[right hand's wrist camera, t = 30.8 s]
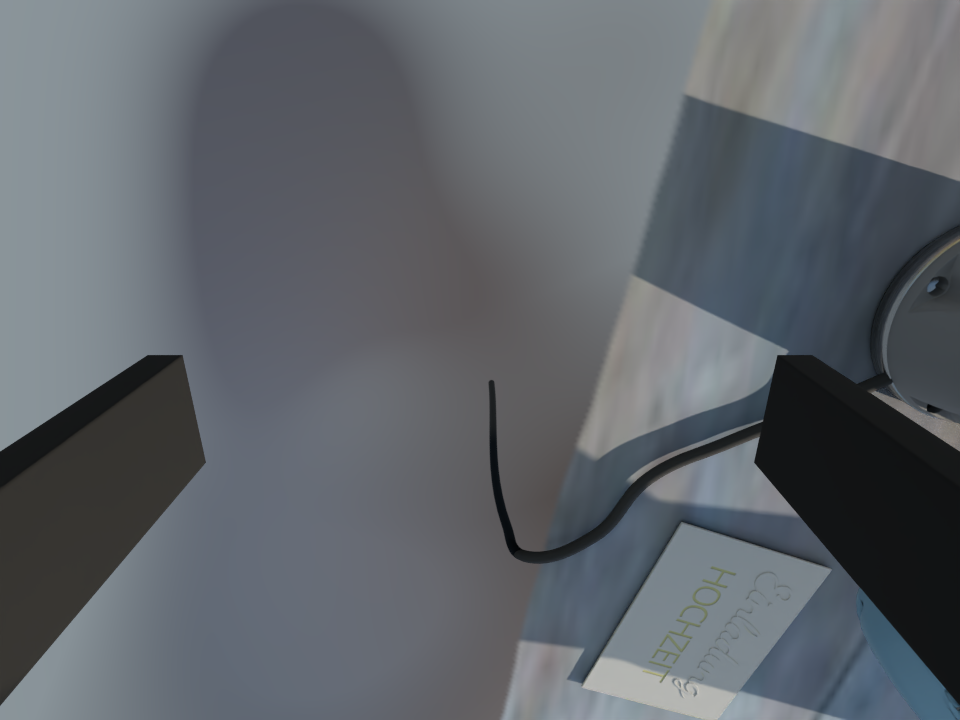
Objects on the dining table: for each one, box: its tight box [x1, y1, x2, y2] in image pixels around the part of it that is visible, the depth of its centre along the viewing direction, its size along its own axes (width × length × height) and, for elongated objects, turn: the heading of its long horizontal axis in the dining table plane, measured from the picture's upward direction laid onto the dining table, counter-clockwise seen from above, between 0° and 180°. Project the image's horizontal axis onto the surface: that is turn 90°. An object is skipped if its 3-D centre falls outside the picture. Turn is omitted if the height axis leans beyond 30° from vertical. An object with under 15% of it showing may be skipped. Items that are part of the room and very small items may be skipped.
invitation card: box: [581, 522, 832, 720], centre depth 52 cm, size 21×1×15 cm
